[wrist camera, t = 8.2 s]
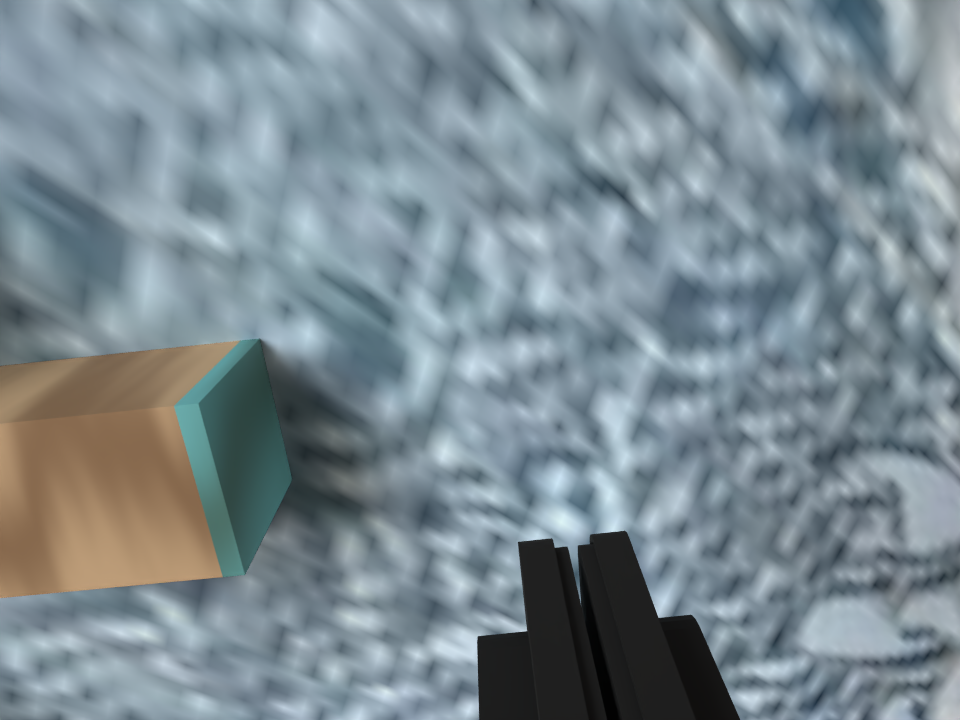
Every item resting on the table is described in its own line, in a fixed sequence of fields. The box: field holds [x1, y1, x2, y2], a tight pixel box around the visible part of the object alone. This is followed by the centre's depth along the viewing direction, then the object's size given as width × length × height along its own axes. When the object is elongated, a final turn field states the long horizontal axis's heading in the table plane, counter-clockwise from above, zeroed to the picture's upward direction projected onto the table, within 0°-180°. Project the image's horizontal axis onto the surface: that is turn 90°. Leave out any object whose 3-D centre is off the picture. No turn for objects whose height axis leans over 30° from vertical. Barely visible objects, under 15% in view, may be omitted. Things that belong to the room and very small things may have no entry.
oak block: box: [0, 339, 292, 598], centre depth 20 cm, size 5×5×10 cm
